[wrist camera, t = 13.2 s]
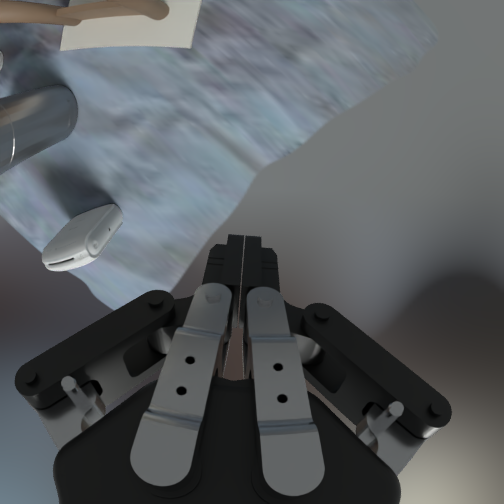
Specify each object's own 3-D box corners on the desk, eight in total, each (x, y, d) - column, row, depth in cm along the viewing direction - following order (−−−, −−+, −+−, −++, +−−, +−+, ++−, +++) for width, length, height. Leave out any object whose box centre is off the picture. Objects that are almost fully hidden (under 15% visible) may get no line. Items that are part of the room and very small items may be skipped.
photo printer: (117, 198, 42) (79, 242, 31) (128, 222, 44) (94, 270, 34) (71, 215, 43) (31, 256, 33) (81, 236, 45) (46, 280, 35)
